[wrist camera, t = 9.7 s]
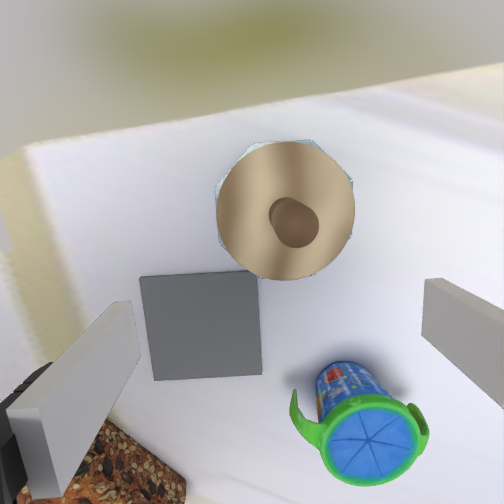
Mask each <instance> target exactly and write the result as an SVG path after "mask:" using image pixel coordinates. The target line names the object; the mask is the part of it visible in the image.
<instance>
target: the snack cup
mask: <svg viewBox="0 0 504 504" xmlns="http://www.w3.org/2000/svg"><path fill="white" fill-rule="evenodd" d="M315 390H316V391H315V396H316V404H317V413H318V421H319V423H315V422H312V421H310V420H307V419H306V418H305V417H304V416H303V414H302V413H301V411H300V409H299V408H298V405H297V393H296V389H294V390H293V394H292V398H291V403H290V417H291V419H292V421H293V423H294V425H295V427H296V428H297V430H298V431H299V433H300V434H301V435H302V436H303V437H304V438H305V439H306V440H307V441H308V442H309V443H310V444H312V445H313V446H315V447H316V448H317V449H318V450H319V451H320V454H321V457H322V460H323V462H324V464H325V466H326V468H327V469H328V470H329V472H330V473H331V474H332V475H333V476H334V477H336V478H337V479H339V480H341V481H343V482H345V483H347V484H351V485H355V486H376V485H381V484H384V483H387V482H389V481H392V480H394V479H395V478H397V477H399V476H400V475H402V474H403V473H404V472H405V471H407V470H408V469H409V468H410V466H411V465H412V464H413V463H414V461H415V460H416V458H417V457H418V456H419V455H420V454H422V453H423V451H424V449H425V447H426V444H427V441H428V438H429V428H428V425H427V423H426V421H425V419H424V417H423V415H422V413H421V411H420V410H419V408H418V407H417V406H416V405H415V404H413V403H409V404H408V405H407V407H406V406H405V405H404V404H403V403H401V402H399V401H397V400H395V399H393V398H392V396H391V395H390V394H389V393H388V392H387V391H386V390H385V389H384V388H383V387H382V386H381V385H380V384H379V383H378V382H377V381H376V380H375V378H374V377H373V376H372V375H371V374H369V373H368V371H367V370H365V369H364V367H362V366H361V365H357V364H354V363H349V362H344V363H334V364H332V365H331V366H330V367H328V368H327V369H326V370H324V371H323V372H322V374H321V375H320V376H319V378H318V380H317V381H316V386H315Z"/></svg>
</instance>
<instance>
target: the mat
mask: <svg viewBox="0 0 504 504" xmlns="http://www.w3.org/2000/svg"><path fill="white" fill-rule="evenodd" d="M139 281H140V287H141V294H142V301H143V308H144V314H145V321H146V328H147V335H148V341H149V348H150V355H151V362H152V369H153V375H154V381H162V380H179V379H196V378H213V377H230V376H247V375H262V364H261V346H260V328H259V310H258V292H257V276H256V275H255V274H254V273H252V272H250V271H232V272H215V273H198V274H181V275H164V276H147V277H140V278H139Z"/></svg>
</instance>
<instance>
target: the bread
mask: <svg viewBox="0 0 504 504" xmlns="http://www.w3.org/2000/svg"><path fill="white" fill-rule="evenodd" d="M185 497H186V483H185V480H184V478H183V477H182V476H180V475H179V474H176V473H175V472H174V471H173V470H172V469H170V468H169V467H168V466H167V465H166V464H165V463H162V462H161V461H160V460H159V459H158V458H157V457H156V456H155V455H152V454H150V452H149V451H147V450H146V449H145V448H144V447H142V446H140V444H139V443H137V442H135V441H133V439H132V438H129V437H126V436H125V435H124V433H123V432H122V431H121V430H119V429H118V428H117V427H115V426H114V425H113V424H112V423H110V422H108V421H107V420H105V421H104V423H103V425H102V426H101V428H100V430H99V432H98V434H97V435H96V437H95V439H94V441H93V442H92V444H91V446H90V448H89V450H88V451H87V453H86V455H85V457H84V458H83V460H82V462H81V464H80V466H79V467H78V469H77V471H76V473H75V474H74V476H73V478H72V480H71V482H70V483H69V485H68V487H67V489H66V490H65V492H64V494H63V496H62V497H57V498H45V499H32V496H31V493H30V490H29V486H28V483H27V482H26V484H25V485H24V487H23V488H22V489H21V491H20V492H19V494H18V495H17V500H18V503H19V504H184V503H185V500H186V498H185Z"/></svg>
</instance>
